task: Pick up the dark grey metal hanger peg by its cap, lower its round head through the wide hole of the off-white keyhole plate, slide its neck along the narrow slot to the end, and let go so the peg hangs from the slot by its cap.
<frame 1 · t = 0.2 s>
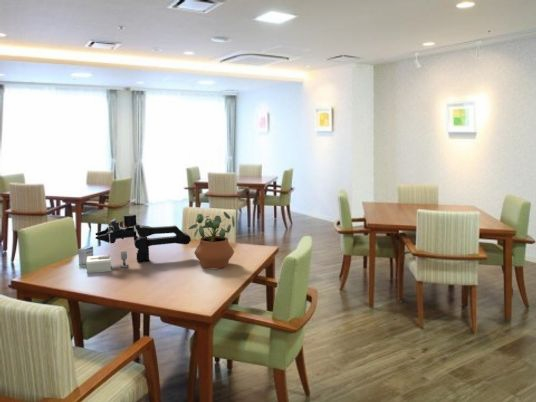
hand: (95, 235, 249), 16 cm above the table, tool horizontal, fingers open, 9 cm apart
potted plant: (210, 264, 253), on the table
keyhole plate: (99, 269, 242), on the table
medicine box: (86, 262, 255), on the table
hanger peg: (124, 266, 247), on the table
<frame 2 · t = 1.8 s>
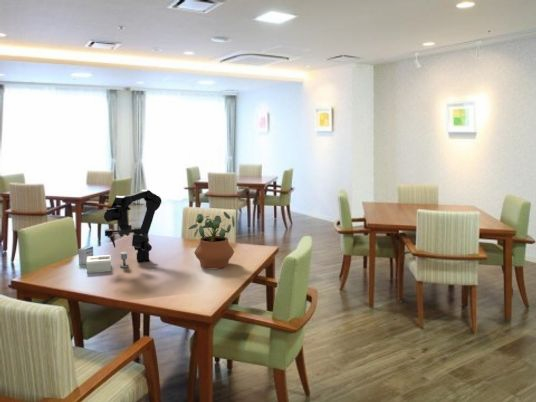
hand: (123, 247, 245), 11 cm above the table, tool pointing down, fingers open, 9 cm apart
nothing on the table moved.
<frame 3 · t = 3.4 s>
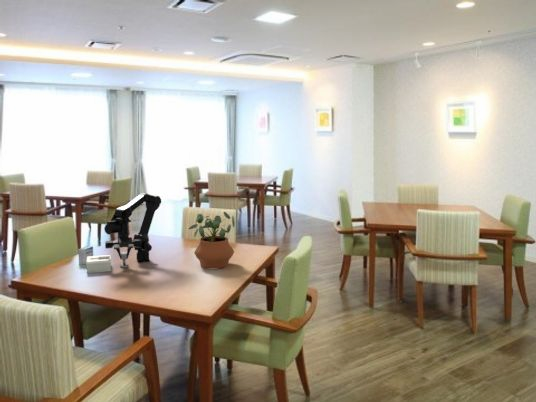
hand: (124, 258, 246), 5 cm above the table, tool pointing down, fingers closed on hanger peg, 3 cm apart
hanger peg: (124, 266, 247), on the table, touching gripper
everything else where it was.
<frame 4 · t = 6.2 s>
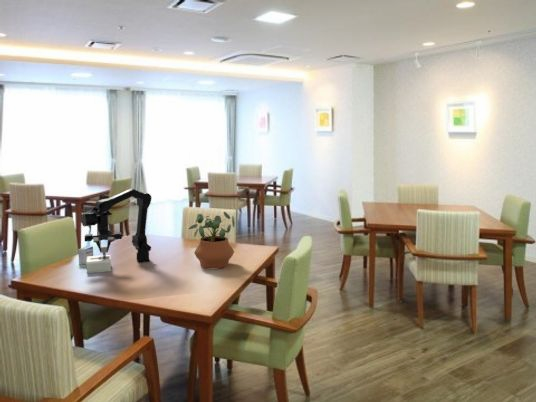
hand: (104, 252, 242), 9 cm above the table, tool pointing down, fingers closed on hanger peg, 3 cm apart
hanger peg: (104, 260, 243), point 5 cm above the table, touching gripper
everything else where it was.
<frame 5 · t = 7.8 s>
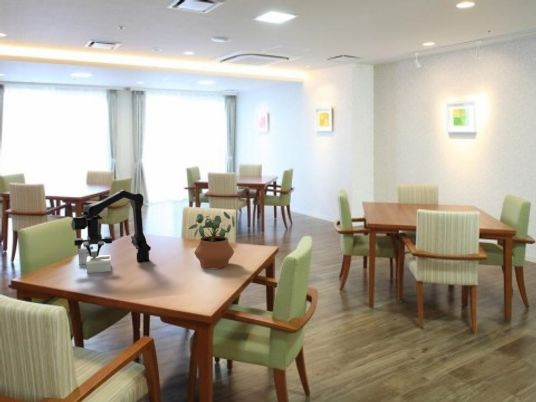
hand: (94, 256, 241), 7 cm above the table, tool pointing down, fingers closed on hanger peg, 3 cm apart
hanger peg: (94, 264, 241), point 3 cm above the table, touching gripper
everything else where it was.
when the fingers open (7 cm above the table, at t = 9.0 s): hanger peg drops 1 cm, resting on keyhole plate.
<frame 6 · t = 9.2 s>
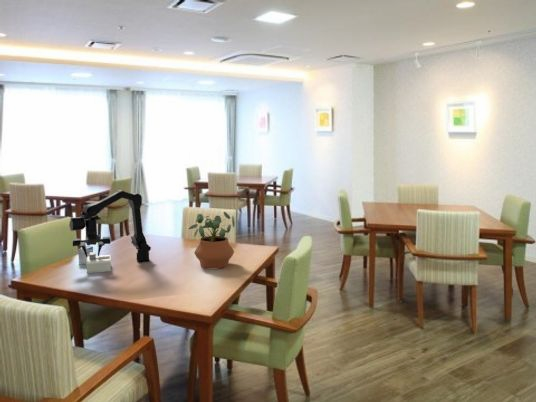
hand: (92, 256, 240), 7 cm above the table, tool pointing down, fingers open, 5 cm apart
hanger peg: (93, 267, 241), point 1 cm above the table, touching keyhole plate
everything else where it was.
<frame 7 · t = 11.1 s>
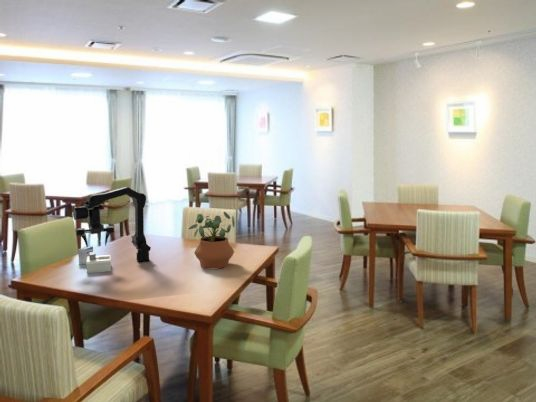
hand: (96, 246, 242), 12 cm above the table, tool pointing down, fingers open, 9 cm apart
nothing on the table moved.
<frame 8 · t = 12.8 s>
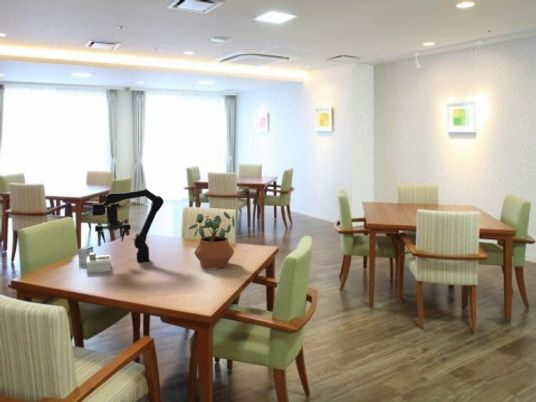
hand: (113, 242, 253), 12 cm above the table, tool pointing down, fingers open, 9 cm apart
nothing on the table moved.
at the end: hanger peg 0.3 cm from the target spot on the keyhole plate, point 1.0 cm above the keyhole plate's base; hanger peg touching keyhole plate; the gripper is holding nothing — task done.
